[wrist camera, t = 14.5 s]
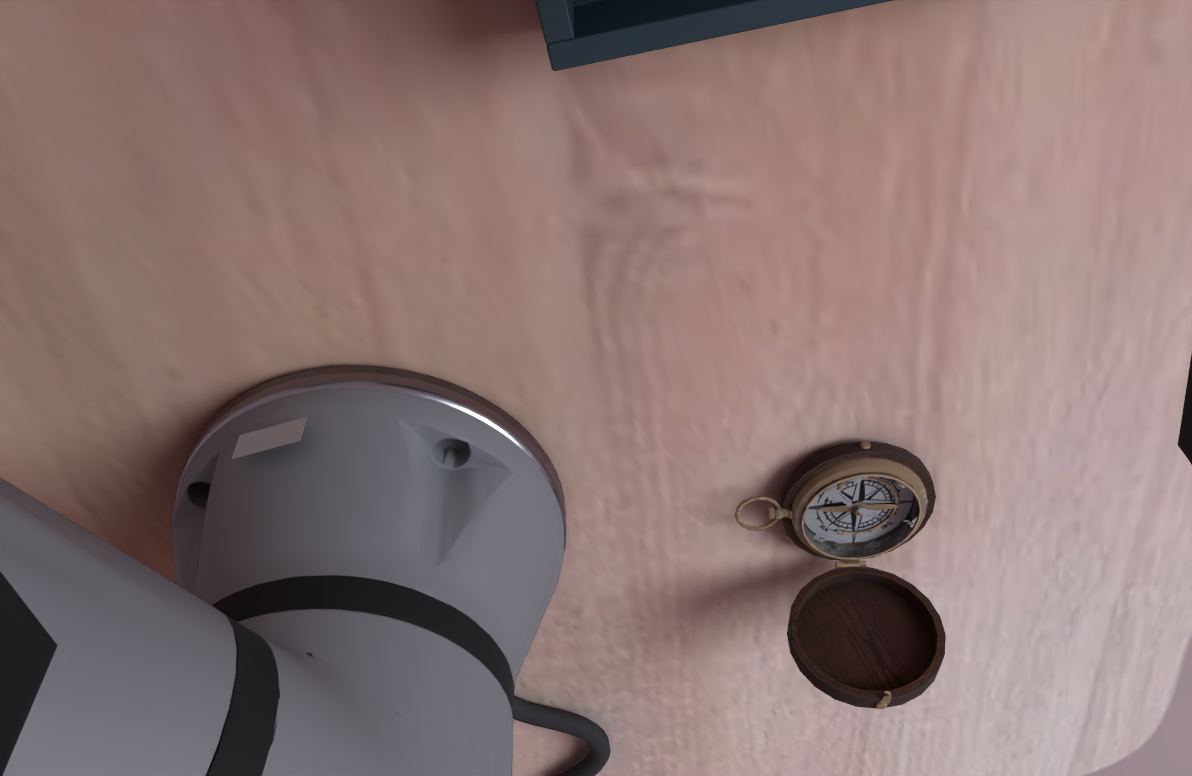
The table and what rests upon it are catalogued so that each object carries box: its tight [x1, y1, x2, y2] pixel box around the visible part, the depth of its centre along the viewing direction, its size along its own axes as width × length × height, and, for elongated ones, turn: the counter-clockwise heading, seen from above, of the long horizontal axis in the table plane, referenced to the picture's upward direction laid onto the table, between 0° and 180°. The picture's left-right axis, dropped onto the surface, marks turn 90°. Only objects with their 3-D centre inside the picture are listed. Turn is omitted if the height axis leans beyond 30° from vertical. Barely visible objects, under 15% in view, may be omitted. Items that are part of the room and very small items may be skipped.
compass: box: [735, 441, 946, 709], centre depth 43 cm, size 8×8×7 cm
